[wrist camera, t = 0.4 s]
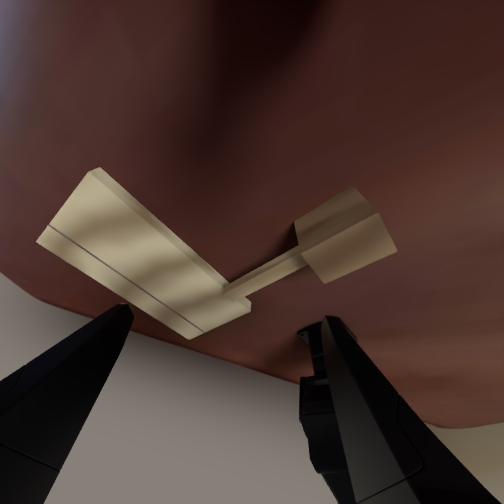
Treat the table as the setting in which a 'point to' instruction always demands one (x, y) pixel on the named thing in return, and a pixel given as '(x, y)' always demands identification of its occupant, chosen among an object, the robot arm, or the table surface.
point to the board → (139, 257)
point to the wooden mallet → (325, 244)
